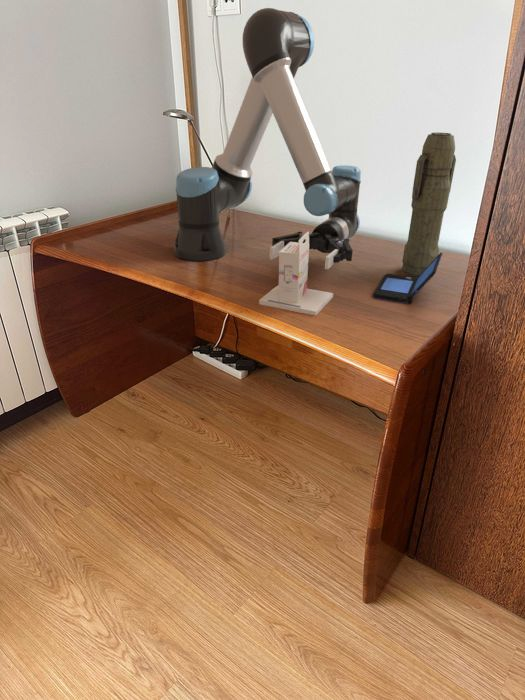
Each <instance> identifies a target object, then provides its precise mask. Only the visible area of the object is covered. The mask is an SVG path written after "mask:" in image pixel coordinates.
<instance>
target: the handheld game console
mask: <svg viewBox="0 0 525 700" xmlns="http://www.w3.org/2000/svg"><path fill="white" fill-rule="evenodd" d="M442 256H443V252H440V253H438V256H437V257H436V258H435V259H434V260H433V261H432V262H431V263H430V265H429V266H428V267H427V268H426V269H425V270H424V271H423V272H422V273H421V274H420V275H418V276H417V277H413V276H409V275H408V276H407V275H401V274H399V275H398V274H393V273H386V274H384V275H383V277H382V279H381V280H380V281H379V283H378V285H377V286H376V288H375V289H374V291H373V298H374V299H375V298H376V299H379V300H385V301H391V302H397V303H401V304H402V303H403V304H407V305H411V304H412V303H413V301H414V297H415V296H416V295H417V294H418V292H419V291H421V290H422V288H423V287H424V286H425V285H426V284H427V283H428V282H429V281H430V280H431V279H432V278H433V276H434V275H435V274H436V273H437V270H438V267H439V265H440V262H441V259H442Z"/></svg>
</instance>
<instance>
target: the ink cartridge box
mask: <svg viewBox="0 0 525 700" xmlns="http://www.w3.org/2000/svg"><path fill="white" fill-rule="evenodd" d="M309 234H310V232H309V231H306V232H305V233H304V234H302V235H303V236H302V237H301V238H300V239H299V241H298V243H297V242H289V243H288V244H287V245H286V246H285V247H284V248H283V249H282V250H281V251H279V256H278V285H279V295H278V300H281V301H288V302H295V303H298V301H299V300H300V299H301V297H302V296H303V294H304V293H305V292H306V290H307V289H308V273H309V255H310V249H309ZM304 240H305V243H303V241H304Z"/></svg>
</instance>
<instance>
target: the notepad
mask: <svg viewBox="0 0 525 700" xmlns="http://www.w3.org/2000/svg"><path fill="white" fill-rule="evenodd" d="M278 295H279V284H278V285H276V286H275V287H274V288H272V289H271V290H270V291H269V292H267V293H266V294H265V295H264V296H262V297H261V298H259V300H258V304H259V305H261V306H265V307H271V308H275V309H280V310H281V309H282V310H285V311H290V312H296V313H300V314H305V315H309V316H317V315H318V314H319V313H320V312H321V311H322V309H324V308H325V306H326V305H328V303H329V302H330V301H331V300H332V299H333V297H334V292H333V293H332V292H329V291H322V290H318V289H311V288H307V290H306V292H305V293H304V294H303V296H302V297H301V299H300V300H299V301H298V303H295V302H288V301H281V300H278Z"/></svg>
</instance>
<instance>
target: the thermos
mask: <svg viewBox="0 0 525 700" xmlns="http://www.w3.org/2000/svg"><path fill="white" fill-rule="evenodd" d="M455 151H456V143H455V135H453V134H452V133H451V132H430V134H427V137H426V139H425V141H424V143H423V146H422V149H421V154H420V156H419V157H418V159H417V160H416V166H415V170H414V171H415V172H414V179H413V186H412V193H411V209H412V210H411V219H410V222H409V223H410V224H409V231H408V235H407V236H408V237H407V241H406V243H405V245H404V250H403V255H402V267H401V272H402V273H403V274H404V275H405V276H407V275H408V277H417V276H418V275H420V274H421V273H422V272H423V271H424V270H425V269H426V268H427V267H428V266H429V265H430V263H431V262H432V261H433V260H434V259H435V258H436V257H437V256H438V255H439V254H440V253H439V251H440V247H439V240H440V236H441V235H440V234H441V231H442V226H443V220H444V213H445V211H446V210H447V208H448V203H449V197H450V193H451V189H452V188H451V187H452V183H453V178H454V172H455V167H456V162H457V159H456V155H455Z"/></svg>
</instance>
